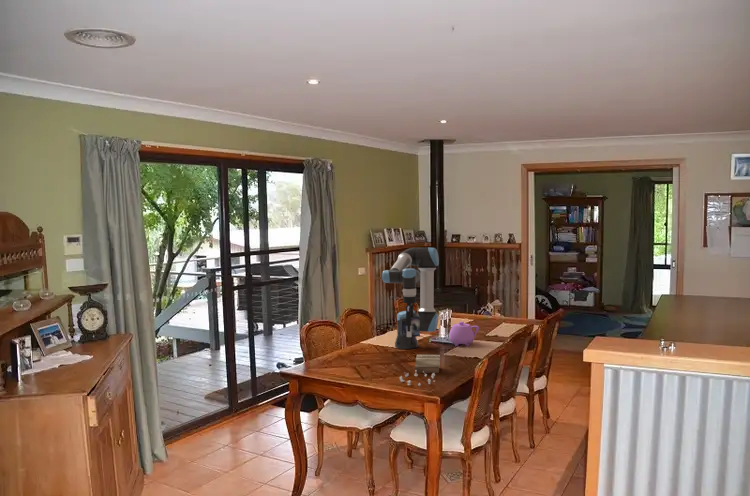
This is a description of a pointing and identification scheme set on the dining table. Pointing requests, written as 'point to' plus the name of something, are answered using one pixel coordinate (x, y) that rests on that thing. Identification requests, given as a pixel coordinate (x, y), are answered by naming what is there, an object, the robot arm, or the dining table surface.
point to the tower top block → (428, 360)
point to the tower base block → (426, 369)
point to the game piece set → (417, 375)
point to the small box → (414, 326)
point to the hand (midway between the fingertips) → (410, 335)
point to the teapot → (462, 334)
